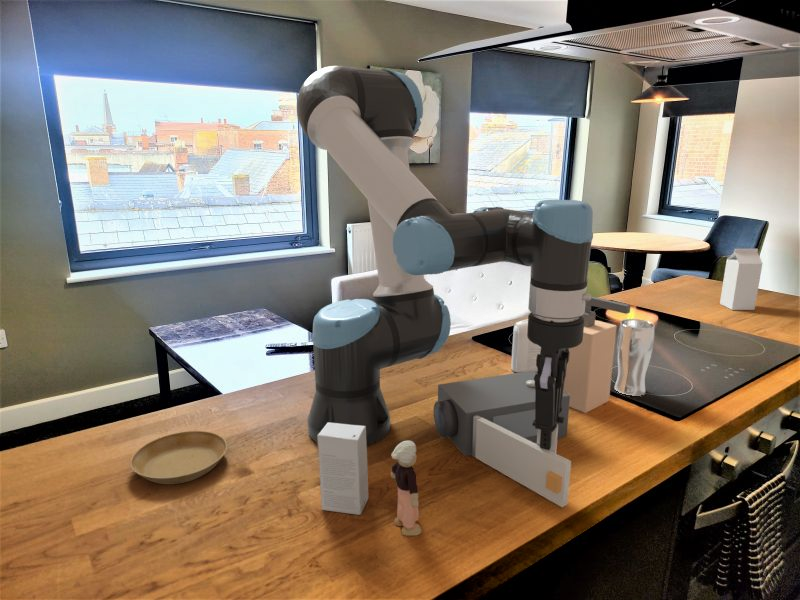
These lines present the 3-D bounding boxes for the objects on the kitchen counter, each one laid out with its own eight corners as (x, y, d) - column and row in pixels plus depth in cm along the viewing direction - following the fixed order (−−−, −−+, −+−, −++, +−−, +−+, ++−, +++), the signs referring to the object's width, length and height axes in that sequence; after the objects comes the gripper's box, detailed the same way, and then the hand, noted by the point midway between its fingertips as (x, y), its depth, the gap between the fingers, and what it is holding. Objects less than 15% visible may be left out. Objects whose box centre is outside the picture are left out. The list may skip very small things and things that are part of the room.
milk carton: (754, 310, 174) (764, 250, 169) (731, 310, 174) (741, 250, 169) (741, 304, 181) (751, 246, 176) (719, 304, 181) (728, 246, 176)
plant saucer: (158, 442, 99) (156, 429, 98) (240, 443, 98) (238, 430, 97) (114, 492, 84) (111, 477, 84) (209, 493, 84) (208, 478, 83)
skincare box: (369, 498, 82) (367, 425, 79) (360, 516, 78) (358, 440, 75) (330, 493, 84) (327, 421, 80) (320, 510, 80) (316, 435, 76)
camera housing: (452, 459, 92) (453, 412, 90) (426, 425, 103) (426, 383, 101) (566, 436, 99) (570, 392, 97) (530, 407, 110) (533, 367, 108)
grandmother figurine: (434, 533, 75) (435, 449, 71) (411, 545, 72) (411, 459, 69) (401, 504, 81) (400, 426, 77) (379, 514, 79) (377, 434, 75)
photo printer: (550, 364, 132) (553, 315, 129) (557, 371, 128) (561, 320, 124) (508, 367, 131) (511, 317, 127) (514, 374, 126) (517, 322, 123)
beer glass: (620, 381, 122) (627, 316, 118) (652, 390, 118) (661, 323, 114) (606, 390, 118) (613, 323, 114) (639, 401, 113) (647, 331, 109)
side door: (467, 456, 92) (468, 418, 90) (475, 452, 93) (476, 414, 91) (559, 509, 79) (562, 466, 77) (567, 504, 80) (571, 461, 78)
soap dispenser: (548, 398, 114) (556, 295, 108) (572, 387, 119) (581, 288, 114) (604, 421, 105) (616, 309, 99) (628, 408, 110) (640, 301, 104)
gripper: (577, 332, 69) (563, 493, 76) (590, 304, 81) (577, 447, 87) (517, 324, 73) (509, 480, 79) (538, 298, 84) (530, 437, 90)
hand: (545, 463), depth 83 cm, fingers closed
